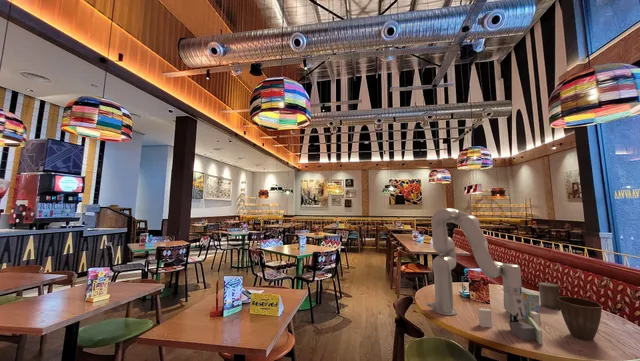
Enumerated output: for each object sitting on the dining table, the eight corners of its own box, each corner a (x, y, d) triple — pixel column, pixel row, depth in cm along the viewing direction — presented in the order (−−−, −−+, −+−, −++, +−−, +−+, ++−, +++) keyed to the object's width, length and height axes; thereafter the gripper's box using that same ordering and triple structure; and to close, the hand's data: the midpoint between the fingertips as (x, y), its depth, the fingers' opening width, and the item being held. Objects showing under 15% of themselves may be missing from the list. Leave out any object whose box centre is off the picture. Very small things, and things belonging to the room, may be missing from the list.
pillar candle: (566, 310, 155) (563, 284, 157) (549, 309, 155) (546, 283, 158) (551, 304, 165) (549, 280, 167) (536, 304, 165) (534, 279, 167)
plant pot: (614, 343, 116) (610, 305, 118) (592, 347, 112) (588, 308, 114) (573, 328, 130) (570, 295, 132) (552, 332, 126) (549, 297, 128)
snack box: (542, 325, 134) (539, 295, 135) (529, 324, 135) (527, 294, 137) (519, 310, 154) (517, 284, 156) (509, 309, 155) (507, 283, 157)
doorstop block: (523, 340, 118) (522, 328, 118) (511, 332, 125) (510, 321, 125) (536, 339, 118) (535, 328, 119) (523, 332, 125) (522, 321, 126)
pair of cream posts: (481, 327, 131) (480, 310, 132) (478, 324, 134) (478, 308, 135) (540, 331, 127) (539, 314, 128) (536, 328, 130) (534, 311, 131)
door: (543, 344, 113) (542, 330, 114) (538, 343, 114) (537, 329, 114) (531, 328, 129) (530, 315, 130) (527, 327, 130) (526, 315, 131)
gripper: (530, 295, 122) (533, 336, 120) (511, 286, 137) (513, 322, 135) (512, 294, 123) (515, 335, 121) (496, 285, 138) (498, 321, 136)
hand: (514, 328), depth 128 cm, fingers closed
